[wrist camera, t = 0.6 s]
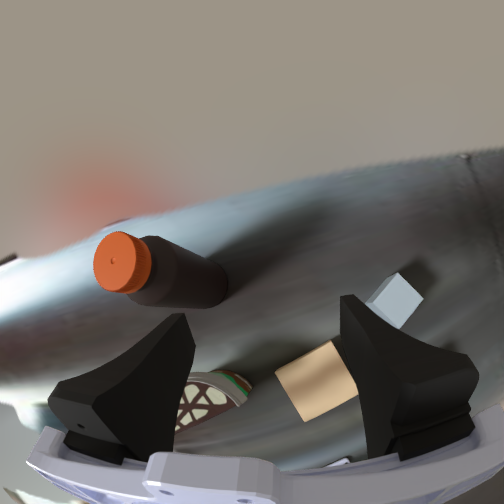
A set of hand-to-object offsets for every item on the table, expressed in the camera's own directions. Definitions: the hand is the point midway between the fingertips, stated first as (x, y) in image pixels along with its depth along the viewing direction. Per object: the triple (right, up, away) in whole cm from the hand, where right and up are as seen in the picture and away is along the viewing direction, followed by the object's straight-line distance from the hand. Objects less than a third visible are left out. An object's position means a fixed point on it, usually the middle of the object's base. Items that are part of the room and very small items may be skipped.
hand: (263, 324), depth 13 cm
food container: (-6, -15, +24) cm, 29 cm away
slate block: (+17, -3, +21) cm, 27 cm away
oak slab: (+8, -14, +22) cm, 27 cm away
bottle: (-7, -1, +27) cm, 28 cm away
